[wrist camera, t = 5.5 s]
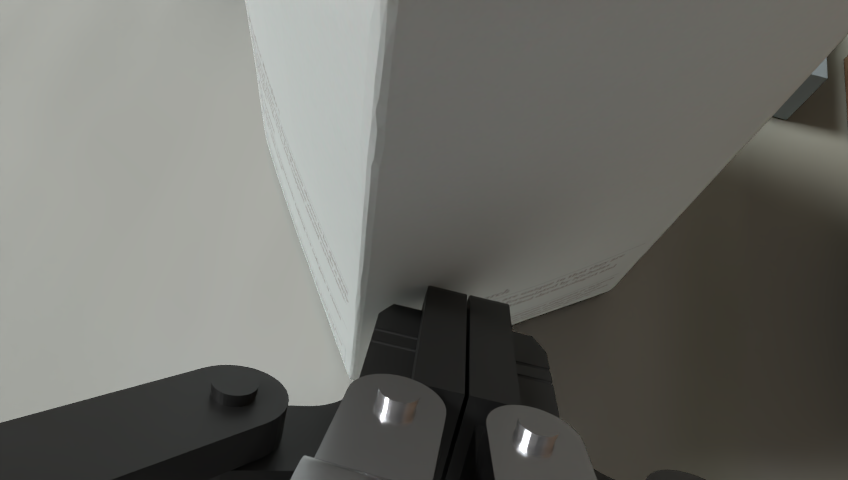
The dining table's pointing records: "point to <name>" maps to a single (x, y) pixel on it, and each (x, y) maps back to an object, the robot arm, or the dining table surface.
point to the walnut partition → (846, 80)
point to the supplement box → (510, 136)
